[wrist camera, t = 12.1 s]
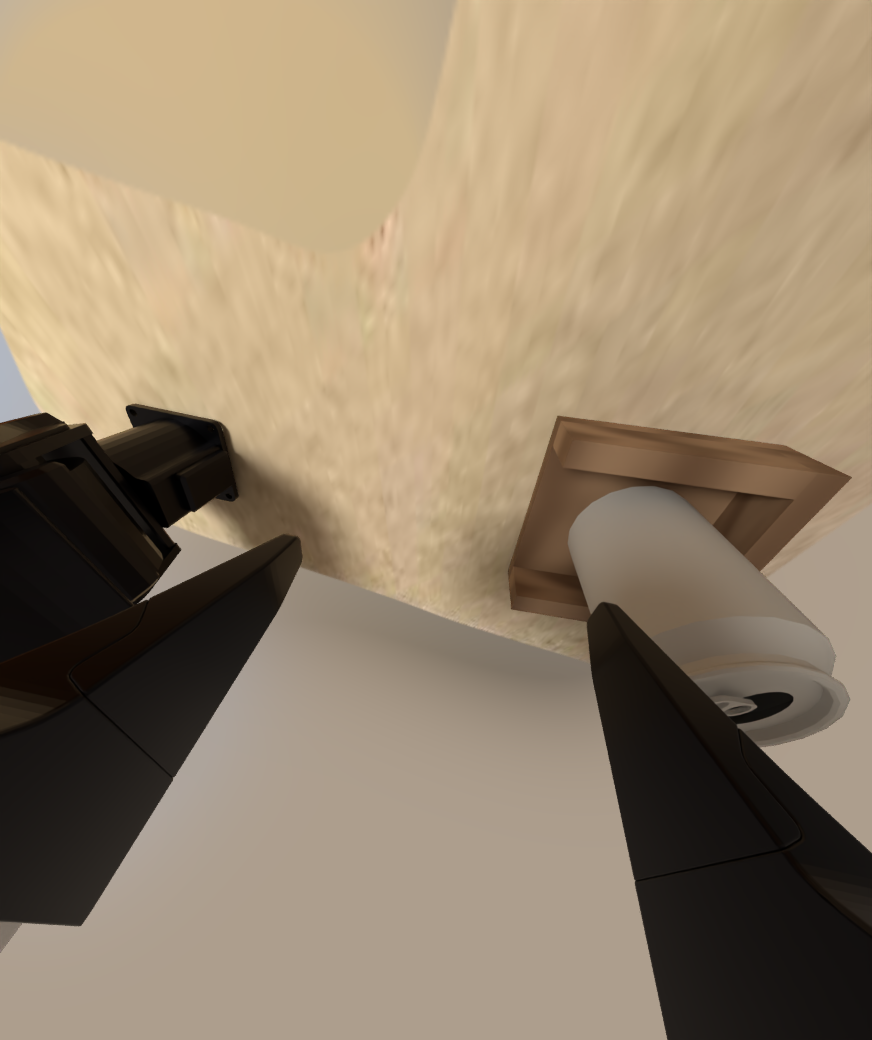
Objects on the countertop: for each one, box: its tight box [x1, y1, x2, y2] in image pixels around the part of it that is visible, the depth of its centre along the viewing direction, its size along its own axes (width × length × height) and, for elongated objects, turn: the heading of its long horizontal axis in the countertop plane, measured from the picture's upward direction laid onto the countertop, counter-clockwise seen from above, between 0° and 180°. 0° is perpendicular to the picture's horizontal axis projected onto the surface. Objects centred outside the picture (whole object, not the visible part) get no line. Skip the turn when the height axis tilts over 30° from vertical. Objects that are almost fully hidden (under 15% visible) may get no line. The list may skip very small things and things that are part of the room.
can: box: [568, 486, 850, 747], centre depth 16 cm, size 8×8×12 cm
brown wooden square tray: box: [508, 416, 852, 622], centre depth 20 cm, size 13×13×4 cm
